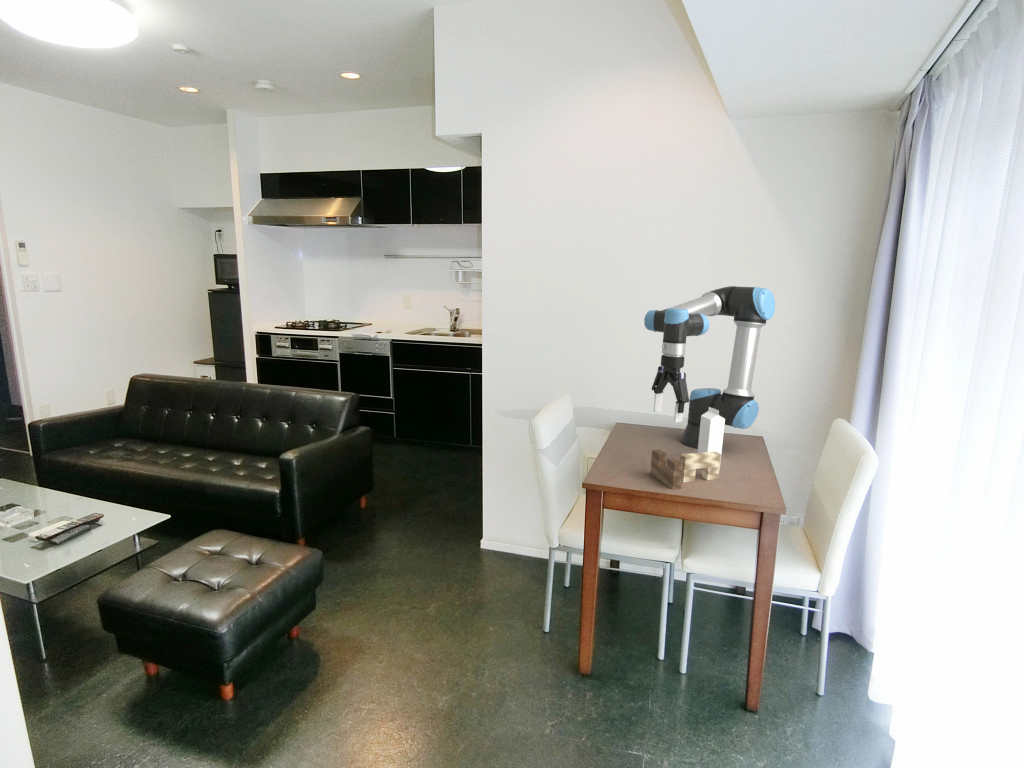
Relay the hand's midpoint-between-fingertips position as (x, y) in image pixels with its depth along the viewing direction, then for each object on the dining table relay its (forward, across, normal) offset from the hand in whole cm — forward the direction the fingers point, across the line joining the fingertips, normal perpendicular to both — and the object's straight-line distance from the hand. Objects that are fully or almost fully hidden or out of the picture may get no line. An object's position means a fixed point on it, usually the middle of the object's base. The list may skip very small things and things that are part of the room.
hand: (667, 416), depth 200 cm
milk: (+21, -5, +21) cm, 30 cm away
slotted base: (+21, +5, -2) cm, 22 cm away
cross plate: (+21, +6, +11) cm, 24 cm away
